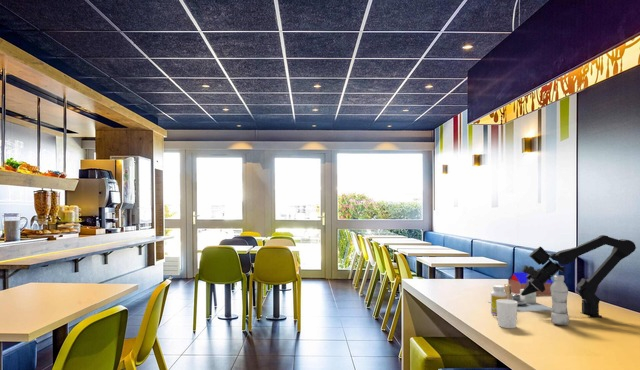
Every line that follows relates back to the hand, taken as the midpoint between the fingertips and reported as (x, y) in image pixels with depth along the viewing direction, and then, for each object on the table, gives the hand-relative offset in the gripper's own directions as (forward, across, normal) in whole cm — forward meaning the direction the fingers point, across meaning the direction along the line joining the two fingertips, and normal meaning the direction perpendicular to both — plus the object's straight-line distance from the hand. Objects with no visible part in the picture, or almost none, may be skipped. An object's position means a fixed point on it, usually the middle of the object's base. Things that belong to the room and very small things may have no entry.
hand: (521, 295), depth 201 cm
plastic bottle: (-3, +22, +13) cm, 26 cm away
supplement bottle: (+13, +14, -3) cm, 19 cm away
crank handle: (+6, -6, +2) cm, 9 cm away
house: (-1, -48, +12) cm, 49 cm away
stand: (+5, -4, +5) cm, 8 cm away
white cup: (+12, +32, -2) cm, 34 cm away
